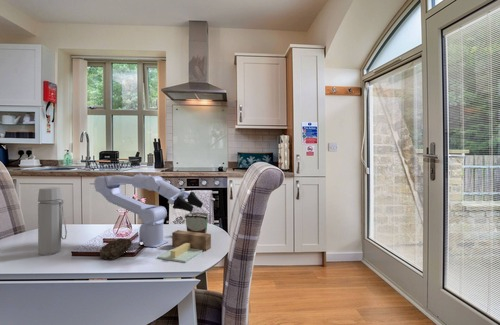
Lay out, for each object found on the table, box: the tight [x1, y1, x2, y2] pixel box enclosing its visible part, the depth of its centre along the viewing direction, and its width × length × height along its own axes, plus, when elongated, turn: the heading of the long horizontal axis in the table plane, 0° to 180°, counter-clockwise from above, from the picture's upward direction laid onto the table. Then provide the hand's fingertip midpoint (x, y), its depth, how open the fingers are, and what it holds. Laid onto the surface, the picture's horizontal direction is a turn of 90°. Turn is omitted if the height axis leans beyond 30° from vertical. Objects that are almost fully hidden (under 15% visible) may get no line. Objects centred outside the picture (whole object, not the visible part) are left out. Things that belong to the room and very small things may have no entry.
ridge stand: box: [157, 243, 204, 263], centre depth 100 cm, size 12×12×3 cm
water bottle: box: [37, 186, 68, 256], centre depth 102 cm, size 9×8×25 cm
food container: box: [184, 212, 210, 233], centre depth 129 cm, size 12×6×10 cm, turn 74°
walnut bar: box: [171, 229, 212, 252], centre depth 109 cm, size 16×4×6 cm, turn 70°
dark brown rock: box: [99, 237, 133, 261], centre depth 101 cm, size 12×10×5 cm
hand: (197, 207), depth 107 cm, fingers open, 7 cm apart
